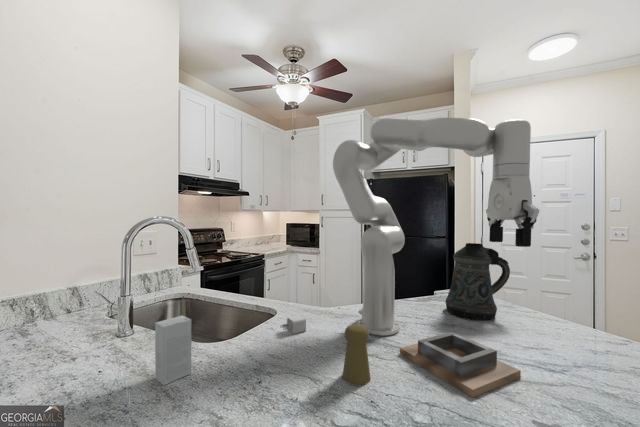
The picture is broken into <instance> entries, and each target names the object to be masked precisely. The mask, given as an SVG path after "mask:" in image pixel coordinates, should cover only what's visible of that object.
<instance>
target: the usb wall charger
mask: <svg viewBox="0 0 640 427" xmlns="http://www.w3.org/2000/svg"><path fill="white" fill-rule="evenodd" d="M280 328H283V330H282V331H287V332H288V333H289V334H292V335H297V334H300V333H304V332H306V331H307V318H306V317H304V315H296V316H295V315H294V316H290V317H286V323H285V324H281V325H280Z"/></svg>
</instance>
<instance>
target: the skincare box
mask: <svg viewBox="0 0 640 427" xmlns="http://www.w3.org/2000/svg"><path fill="white" fill-rule="evenodd" d="M154 325H155V326H154V332H155V333H154V334H155V335H154V337H155V339H154V342H155V343H154V344H155V346H154V350H155V351H154V352H155V354H154V355H155V357H154V358H155V362H154V363H155V365H154V366H155V379H156V380H157V381H158V382H159V383H160V384H162V386H165V385H167V384H170V383H172V382H175V381H177V380H179V379H182V378H184V377H186V376H188V375H191V374H192V318H189V317H187V316H184V315H180V316H179V315H178V316H176V317H172V318H167V319H164V320H160V321H156V322H154Z"/></svg>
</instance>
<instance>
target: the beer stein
mask: <svg viewBox="0 0 640 427" xmlns="http://www.w3.org/2000/svg"><path fill="white" fill-rule="evenodd" d="M453 260H454V267H453V273H452V279H451V283H450V288H449V291H448V294H447V297H446V298H445V306H446V311H447V313H448V314H449V315H450V316H452V317H457V318H459V319H464V320H469V321H476V322H488V321H493V320H495V319H496V315H497V310H498V307H497V305H496V303H495V300H494V297H493V295H495V294H496V293H497V292H499V291H500V290H501V289H502V288H503V287H504V286H505V285H506V284H507V282H508V280H509V279H510V275H511V269H510V265H509V262H508V261H507V260H506V259H504V258H502V257H500V256H499V252H498V251H496V250H495V249H494V248H491V247H485V246H483V243H476V242H474V243H473V242H469V243H468V242H467V243H465V246H463V247H462V248H460V249H458V250H457V251H456V252H454V254H453ZM490 265H491V266H499V267H500V269H501V270H502V271H501V274H500V277H499V278H498V279H497V280H496V281H495V282H493V284H492V278H491V272H490V271H491V270H490Z"/></svg>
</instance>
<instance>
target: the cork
mask: <svg viewBox="0 0 640 427" xmlns="http://www.w3.org/2000/svg"><path fill="white" fill-rule="evenodd" d="M369 338H370V334H369V332H368V329H367V328H366V327H365V326H363V325H359V324H358V323H357V324H356V323H355V324H353V323H352V324H349V325H348V326H347V327H346V328H345V330H344V339H345V340H346V346H345V349H346V350H345V355H344V360H343V369H342V374H341V375H342V379H343V381H344V382H345V383H347V384H348V385H352V386H364V385H367V384H369V382H370V381H371V370H370V362H369V355H368V353H369V352H368V346H367V342H368V341H369Z"/></svg>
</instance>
